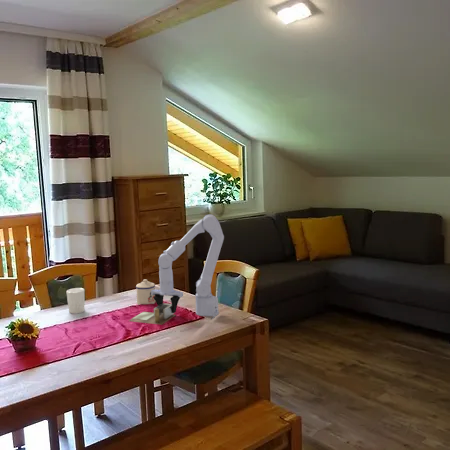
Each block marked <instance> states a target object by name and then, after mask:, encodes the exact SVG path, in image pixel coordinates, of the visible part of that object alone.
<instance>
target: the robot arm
mask: <svg viewBox="0 0 450 450" xmlns="http://www.w3.org/2000/svg"><path fill="white" fill-rule="evenodd" d="M205 231H206V232H207V233H209V235H210V237H211V238H212V240H211V243H210V246H209V249H208V253H207V257H206V260H205V263H204V266H203V270H202V273H201V275H200V277H199V279H198V280H197V281H196V282H195V287H196V289H195V292H196V293H195V314H196V315H197V316H200V317H211V318H210V319H211V320H213V319H214V318H215V317H217V316H218V315H219V314H220V311H219V298H218V296H216V295H215V296H214V295H213V293H212V288H211V285H212V282H213V281H212V280H213V275H214V273H215V269H216V266H217V262H218V260H219V255H220V253H221V250H222V249H221V248H222V246H223V243H224V240H225V235H224V233H223V229H222V227H221V223H220V221H219V219H218V218H217V217H216V216H215V215H214V214H212V213H210V214H205V215H204V217H203V218H201V219H199V220H198V221H197V222H196V223H195V224H194V225H193V226H192V227H191V229H189V230H188V232H187V233H186V234H184V236H183V237H182V238H181V239H180V240H175V241H172V242H171V243H170V246H169V247H168V248H167V249H166V250H163V253H161V254H160V256H159V257H158V261H157V262H158V264H157V265H158V266H159V267H158V269H159V271H158V275H159V289H155V290H151V295H155V296H154V300H155V304H157V306H159V305H160V304H162V303H164V297H165V296H166V297H167V296H168V297H170V299H169V300H170V302H171V303H170V304H172V313H174V314H175V313H176V312H177V307H178V303H179V301H180V299H181V298H183V297H184V292H183V291H179V290H177V289H176V290H175V289H174V274H173V269H172V266H173V262H174V261H176V260H177V259H178V258H179V257H180V256H181V255H182V254H183V253H184V252H185V251H186V245H188V244H189V243H190V242H191V241H192V240H193V239H194V238H195V237H196V236H197V235H199V234H203V233H205Z"/></svg>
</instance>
